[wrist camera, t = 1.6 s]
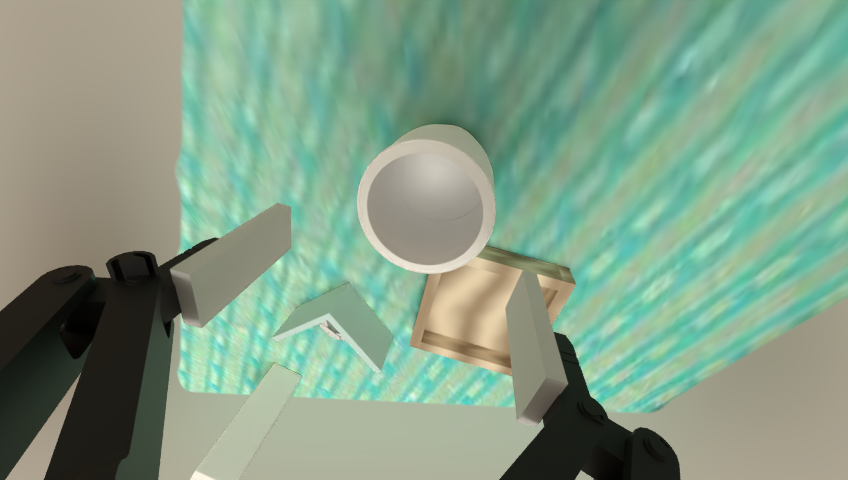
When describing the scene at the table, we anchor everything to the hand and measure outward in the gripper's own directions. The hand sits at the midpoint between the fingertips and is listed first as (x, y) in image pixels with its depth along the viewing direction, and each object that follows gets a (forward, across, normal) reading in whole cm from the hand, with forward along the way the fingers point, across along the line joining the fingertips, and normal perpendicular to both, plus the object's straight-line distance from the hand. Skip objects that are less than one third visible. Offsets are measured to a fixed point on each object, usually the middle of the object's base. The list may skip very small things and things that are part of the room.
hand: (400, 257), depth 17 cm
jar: (+21, 0, 0) cm, 21 cm away
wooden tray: (+21, +10, -18) cm, 29 cm away
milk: (+22, -21, -50) cm, 58 cm away
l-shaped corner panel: (+22, -10, -30) cm, 38 cm away
